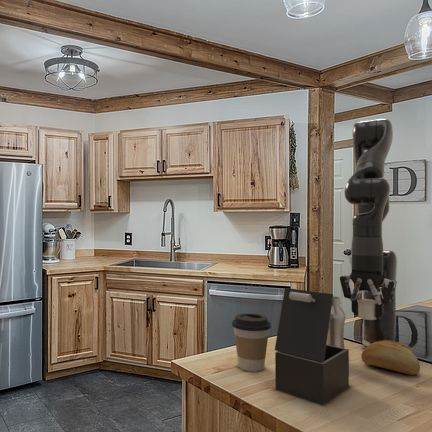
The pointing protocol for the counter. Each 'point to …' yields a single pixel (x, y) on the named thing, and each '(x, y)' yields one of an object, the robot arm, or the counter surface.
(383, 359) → the bread roll
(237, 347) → the coffee cup
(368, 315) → the coffee pod
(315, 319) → the charcoal box lid
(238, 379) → the counter surface
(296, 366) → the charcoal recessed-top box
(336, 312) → the plastic bottle
